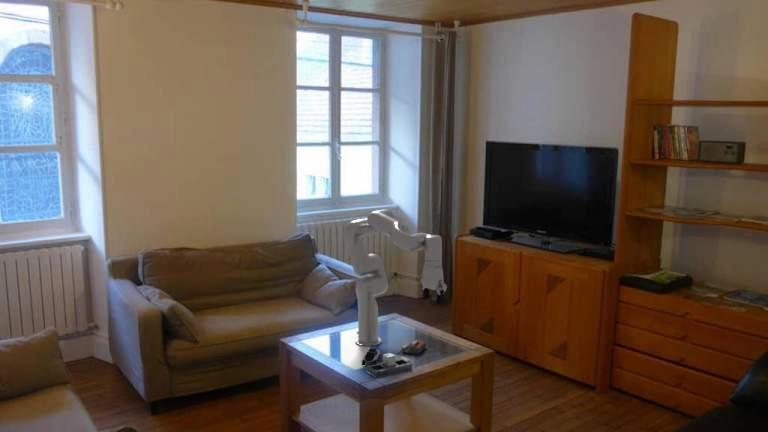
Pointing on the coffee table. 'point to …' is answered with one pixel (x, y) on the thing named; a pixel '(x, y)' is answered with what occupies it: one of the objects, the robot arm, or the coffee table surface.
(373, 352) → the toy car
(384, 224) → the robot arm
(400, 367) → the grey flat frame
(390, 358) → the steel block
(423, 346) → the walkie-talkie
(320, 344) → the coffee table surface
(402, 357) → the sage mat
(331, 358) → the coffee table surface
